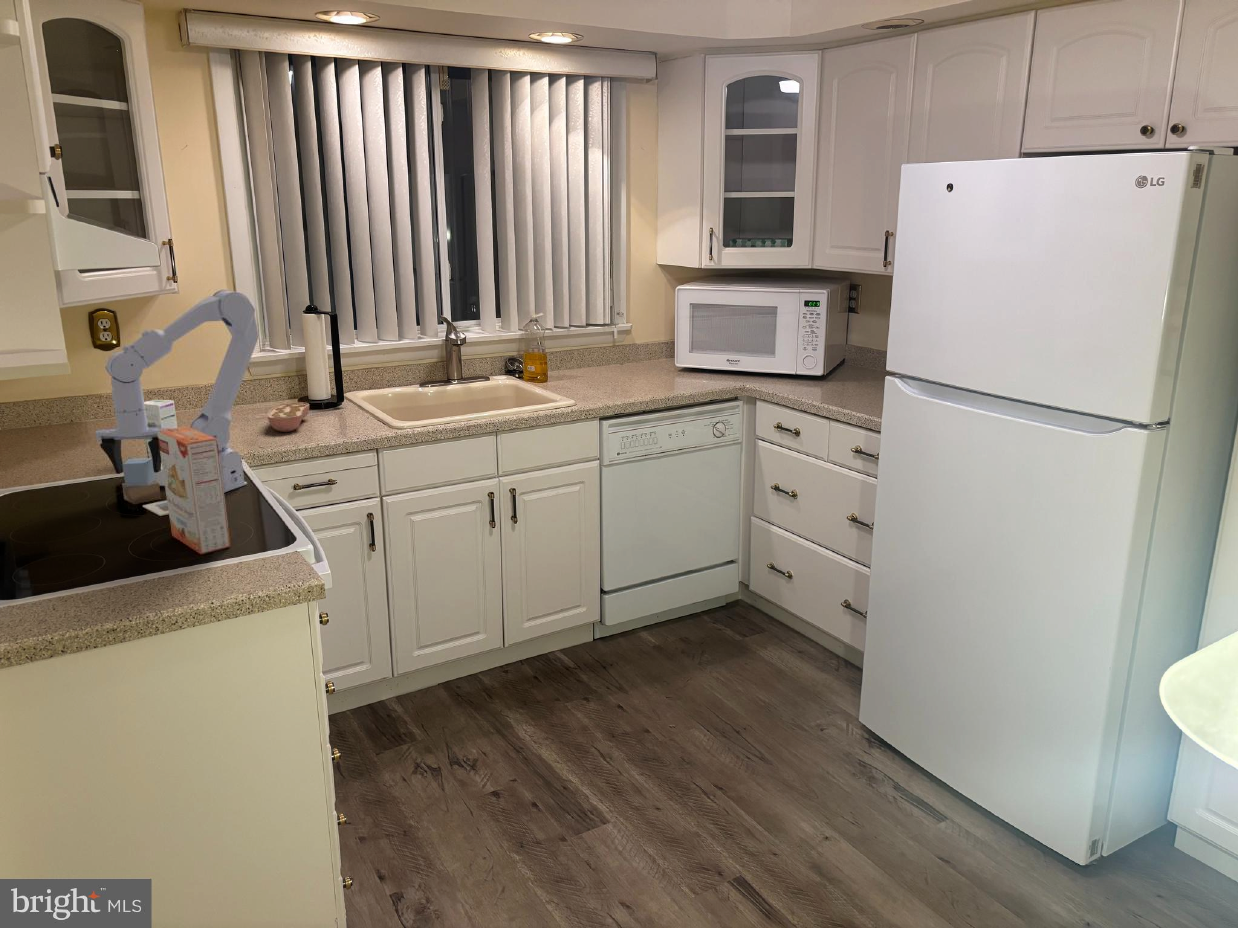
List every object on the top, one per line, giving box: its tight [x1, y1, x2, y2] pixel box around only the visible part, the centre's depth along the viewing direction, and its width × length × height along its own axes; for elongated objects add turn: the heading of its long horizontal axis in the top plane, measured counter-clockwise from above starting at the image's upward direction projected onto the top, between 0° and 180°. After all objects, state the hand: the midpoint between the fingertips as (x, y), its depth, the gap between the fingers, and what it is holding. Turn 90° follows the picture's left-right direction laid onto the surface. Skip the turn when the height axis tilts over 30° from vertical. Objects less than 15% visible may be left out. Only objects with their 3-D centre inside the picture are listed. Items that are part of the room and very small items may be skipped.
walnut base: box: [121, 481, 162, 505], centre depth 200 cm, size 6×6×4 cm
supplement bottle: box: [155, 462, 165, 487], centre depth 211 cm, size 5×5×10 cm
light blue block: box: [122, 457, 155, 487], centre depth 199 cm, size 4×4×5 cm
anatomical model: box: [267, 401, 310, 433], centre depth 269 cm, size 23×10×5 cm, turn 10°
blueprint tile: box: [142, 499, 169, 517], centre depth 194 cm, size 9×6×1 cm, turn 47°
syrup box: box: [144, 399, 178, 458], centre depth 233 cm, size 6×6×14 cm
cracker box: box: [157, 426, 232, 555], centre depth 171 cm, size 14×6×21 cm, turn 45°
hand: (138, 472), depth 199 cm, fingers open, 7 cm apart
